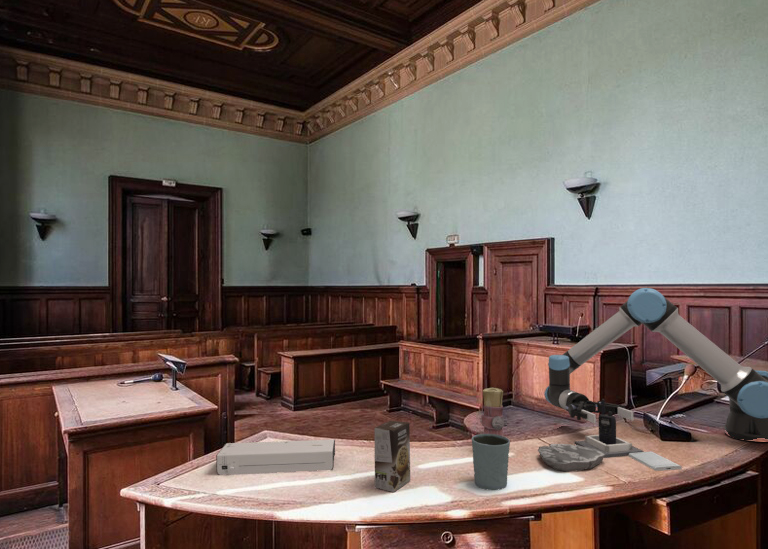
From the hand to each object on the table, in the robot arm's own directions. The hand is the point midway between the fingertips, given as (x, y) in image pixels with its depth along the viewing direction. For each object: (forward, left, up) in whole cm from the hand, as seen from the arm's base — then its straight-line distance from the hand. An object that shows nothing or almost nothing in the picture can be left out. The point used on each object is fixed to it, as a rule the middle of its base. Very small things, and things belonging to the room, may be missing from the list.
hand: (613, 417), depth 155 cm
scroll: (+37, -10, -11) cm, 40 cm away
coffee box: (+74, +8, -11) cm, 75 cm away
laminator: (+105, -14, -12) cm, 106 cm away
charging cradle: (0, -3, -11) cm, 11 cm away
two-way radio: (0, -3, -10) cm, 11 cm away
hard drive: (-5, +11, -12) cm, 17 cm away
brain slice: (+19, +4, -12) cm, 23 cm away
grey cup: (+48, +14, -11) cm, 51 cm away
